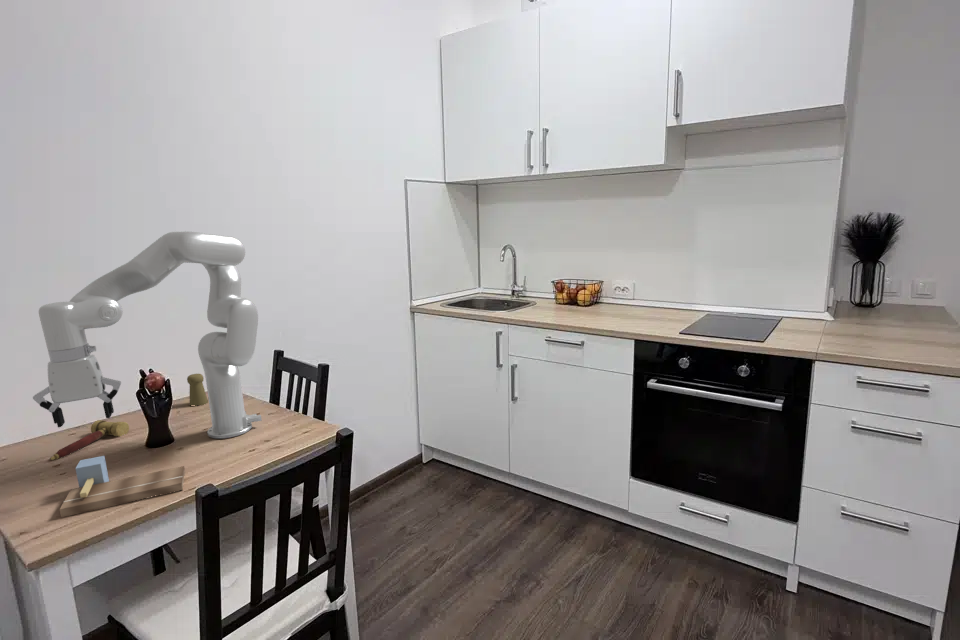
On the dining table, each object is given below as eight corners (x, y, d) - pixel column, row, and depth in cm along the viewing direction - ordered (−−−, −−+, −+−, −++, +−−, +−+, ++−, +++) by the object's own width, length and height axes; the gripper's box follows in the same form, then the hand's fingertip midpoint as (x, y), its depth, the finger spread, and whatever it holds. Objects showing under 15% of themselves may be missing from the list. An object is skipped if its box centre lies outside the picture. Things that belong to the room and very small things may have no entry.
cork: (205, 399, 193) (201, 370, 191) (210, 403, 188) (206, 374, 186) (187, 403, 189) (183, 374, 187) (191, 407, 185) (187, 378, 182)
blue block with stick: (109, 480, 133) (104, 455, 132) (98, 505, 122) (93, 477, 121) (85, 485, 131) (80, 460, 130) (72, 510, 120) (66, 483, 118)
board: (185, 473, 136) (184, 465, 136) (182, 490, 127) (181, 482, 127) (72, 496, 126) (71, 488, 126) (61, 517, 117) (59, 509, 117)
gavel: (62, 453, 144) (34, 450, 146) (67, 467, 145) (39, 465, 147) (127, 419, 164) (102, 417, 166) (131, 432, 165) (105, 430, 167)
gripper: (115, 344, 130) (129, 408, 134) (29, 356, 123) (46, 423, 127) (110, 351, 124) (124, 418, 128) (18, 364, 117) (36, 434, 121)
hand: (85, 420), depth 127 cm, fingers open, 9 cm apart
